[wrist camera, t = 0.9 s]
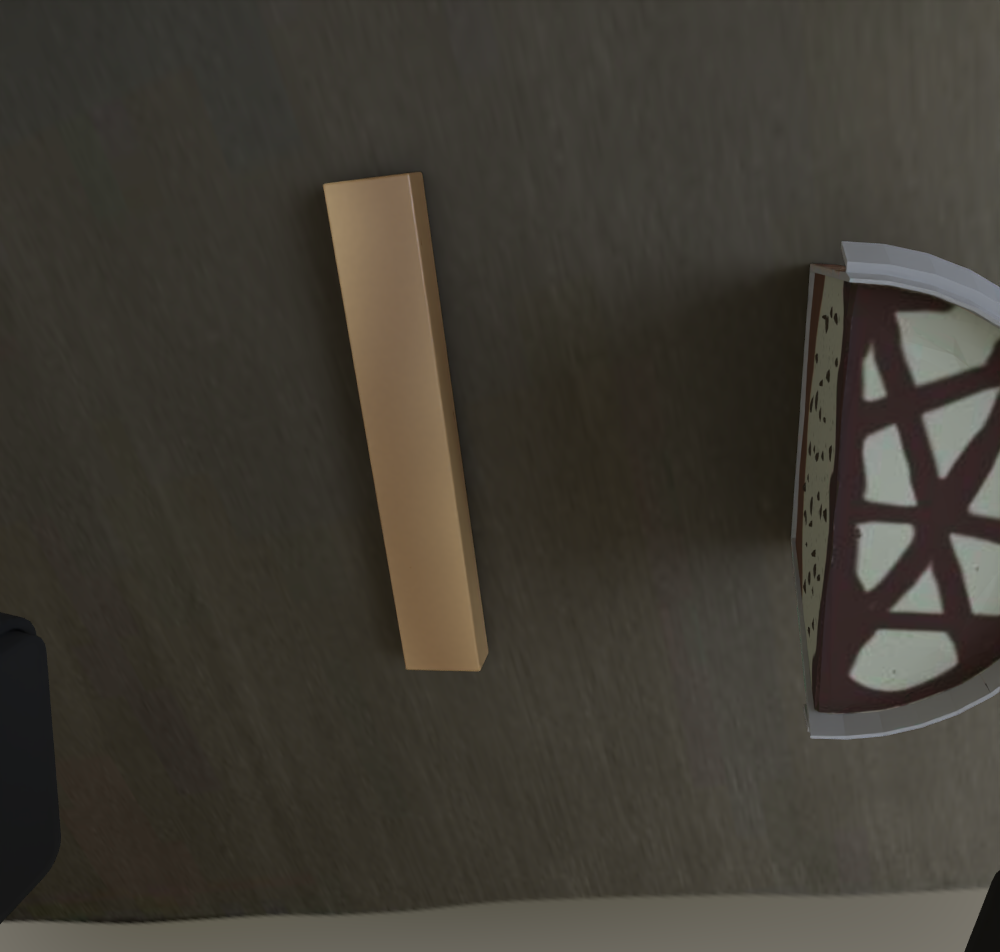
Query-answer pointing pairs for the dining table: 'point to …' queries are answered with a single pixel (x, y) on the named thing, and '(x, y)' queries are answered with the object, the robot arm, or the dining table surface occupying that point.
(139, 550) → the dining table surface
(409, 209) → the strip
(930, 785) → the dining table surface
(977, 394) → the food container
